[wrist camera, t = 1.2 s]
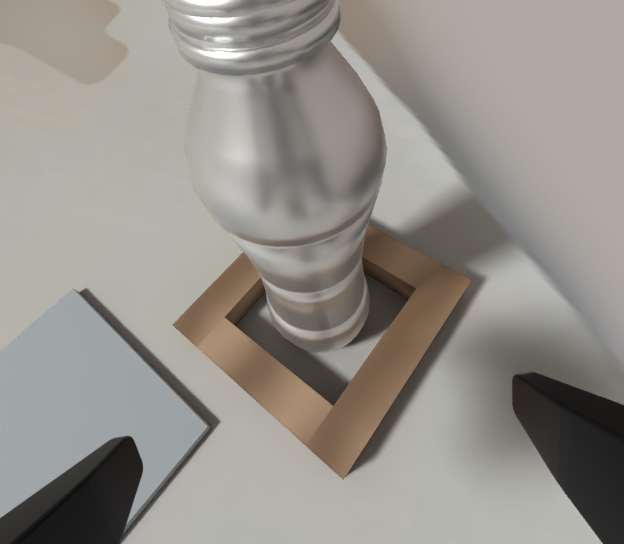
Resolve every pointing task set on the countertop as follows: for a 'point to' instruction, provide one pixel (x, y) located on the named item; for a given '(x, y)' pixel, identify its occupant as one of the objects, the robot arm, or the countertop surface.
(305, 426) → the pocket frame
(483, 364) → the countertop surface
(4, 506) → the mat
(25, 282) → the countertop surface
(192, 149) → the plastic bottle
